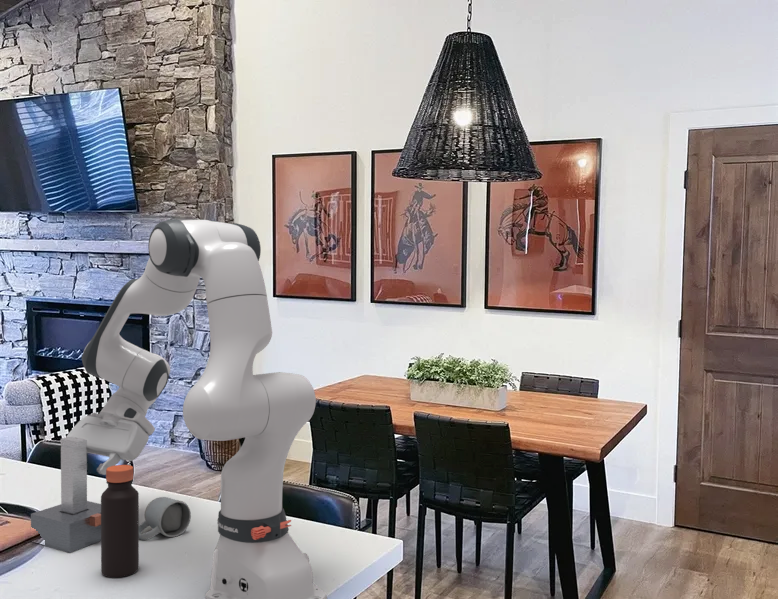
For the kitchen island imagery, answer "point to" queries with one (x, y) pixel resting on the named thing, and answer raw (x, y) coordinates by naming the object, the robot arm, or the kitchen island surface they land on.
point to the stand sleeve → (68, 527)
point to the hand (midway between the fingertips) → (85, 470)
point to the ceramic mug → (165, 518)
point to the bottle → (119, 523)
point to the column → (73, 475)
